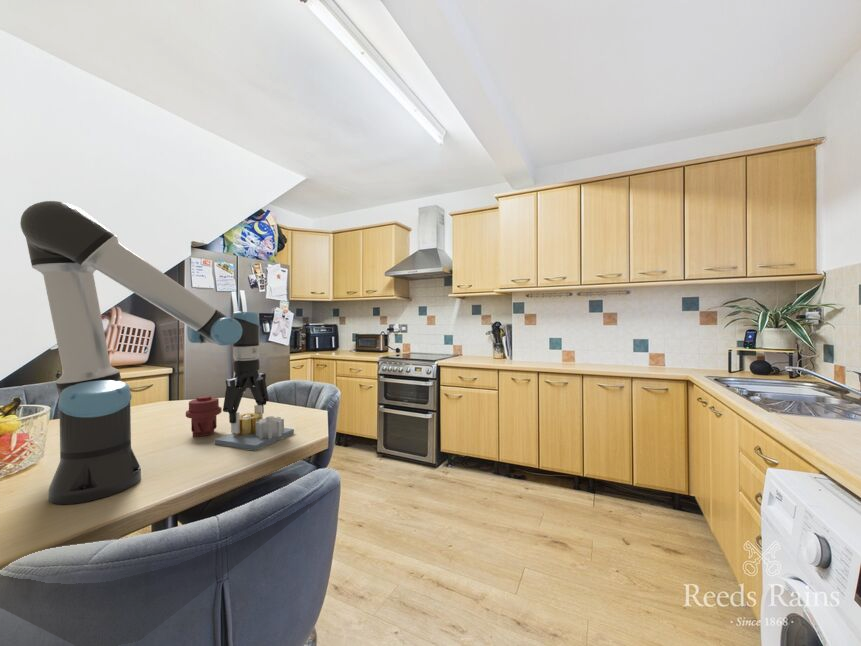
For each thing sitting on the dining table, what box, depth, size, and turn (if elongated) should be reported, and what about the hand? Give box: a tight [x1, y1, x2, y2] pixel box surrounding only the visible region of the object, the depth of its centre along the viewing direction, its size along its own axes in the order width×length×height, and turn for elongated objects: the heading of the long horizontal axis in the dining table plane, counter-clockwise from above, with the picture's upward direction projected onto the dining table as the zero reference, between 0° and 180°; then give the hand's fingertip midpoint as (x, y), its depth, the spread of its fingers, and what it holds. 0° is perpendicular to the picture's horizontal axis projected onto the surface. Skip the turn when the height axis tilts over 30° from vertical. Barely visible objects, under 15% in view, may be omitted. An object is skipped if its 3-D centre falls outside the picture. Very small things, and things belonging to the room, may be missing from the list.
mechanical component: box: [185, 395, 223, 437], centre depth 117 cm, size 12×10×10 cm
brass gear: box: [232, 412, 262, 436], centre depth 114 cm, size 8×8×5 cm
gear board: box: [214, 415, 295, 452], centre depth 112 cm, size 16×17×7 cm
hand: (247, 428), depth 114 cm, fingers closed on brass gear, 8 cm apart
